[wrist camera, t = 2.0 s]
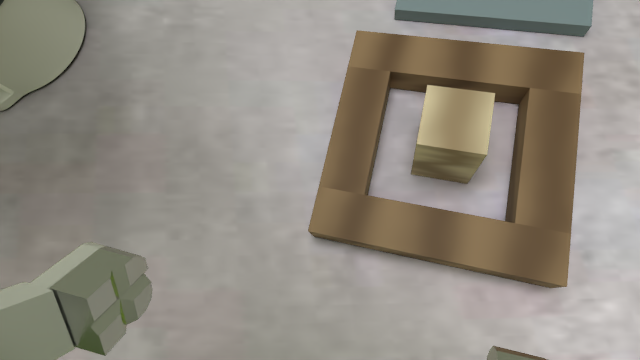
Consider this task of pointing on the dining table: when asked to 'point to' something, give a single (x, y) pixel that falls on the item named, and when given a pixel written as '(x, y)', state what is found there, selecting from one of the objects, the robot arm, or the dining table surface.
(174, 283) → the dining table surface
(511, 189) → the pocket block
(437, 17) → the slate pad
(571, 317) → the dining table surface
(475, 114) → the maple peg
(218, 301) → the dining table surface
